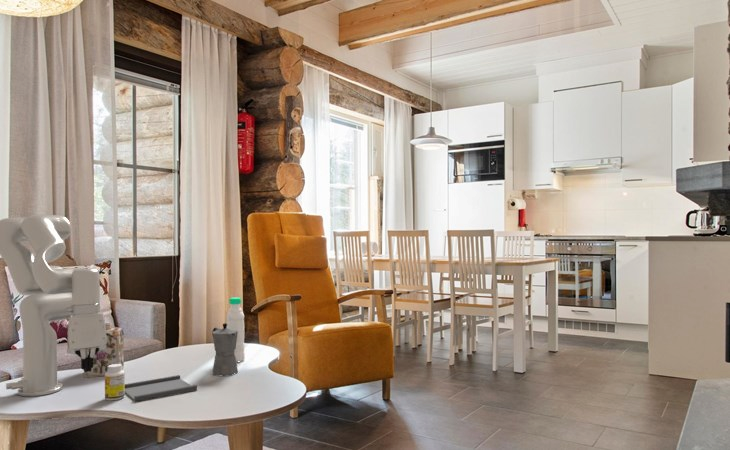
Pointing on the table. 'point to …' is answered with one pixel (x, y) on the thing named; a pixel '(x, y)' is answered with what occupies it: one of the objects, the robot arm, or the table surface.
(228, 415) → the table surface
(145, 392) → the mat
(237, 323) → the water bottle
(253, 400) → the table surface
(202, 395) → the table surface
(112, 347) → the decorative jar
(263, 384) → the table surface
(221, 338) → the coffeepot
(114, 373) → the supplement bottle
